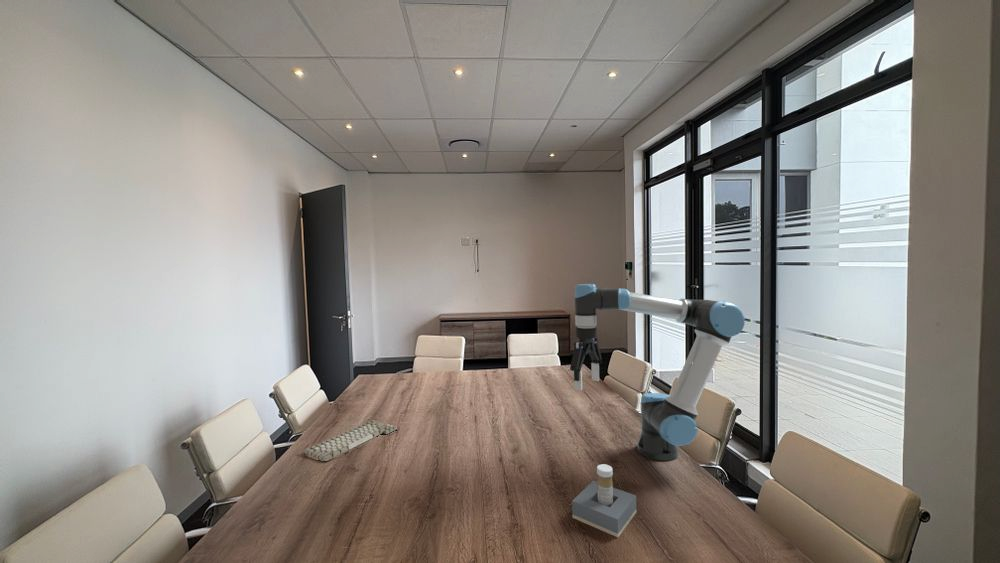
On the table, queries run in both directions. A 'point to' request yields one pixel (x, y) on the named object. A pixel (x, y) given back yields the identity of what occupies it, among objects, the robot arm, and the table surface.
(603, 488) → the sprinkles bottle
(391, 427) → the mechanical keyboard
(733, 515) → the table surface
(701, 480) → the table surface
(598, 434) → the table surface
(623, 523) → the socket block
